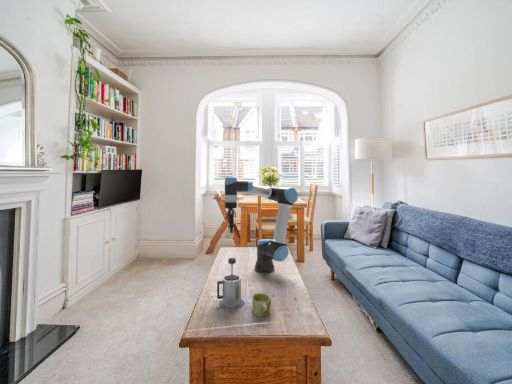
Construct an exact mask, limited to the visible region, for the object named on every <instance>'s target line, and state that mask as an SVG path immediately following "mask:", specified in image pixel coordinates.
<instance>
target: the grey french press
mask: <svg viewBox="0 0 512 384" xmlns="http://www.w3.org/2000/svg"><path fill="white" fill-rule="evenodd" d="M233 279H234V280H236V281H227V280H231V274H227V275H224V276H223V277H222V280H217V281H216V282H217V283H216V285H217V286H216V287H217V288H216V291H217V292H216V293H217V294H216V298H217V299H222V300H223V305H224V306H225V307H229V308H234V307H237V306H239V305H240V304H241V299H242V277H241V276H240V275H238V274H233ZM220 285H222V294H221V295H220Z"/></svg>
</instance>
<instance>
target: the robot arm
mask: <svg viewBox="0 0 512 384" xmlns="http://www.w3.org/2000/svg"><path fill="white" fill-rule="evenodd" d="M238 193H240V194H247V195H251V196H256V197H257V196H258V197H263V198H264V199H266V200H271V201H273V202H277V204H276V205H278V210H277V215H276V220H275V226H274V233H273V238H263V239H258V240H257V242H256V261H255V264H254V270H255V271H256V272H259V273H264V272H266V273H271V271H272V272H274V271H275V265H274V261H276V262H284V261H285V260H286V259H287V258H288V255H289V253H290V252H289V251H290V250H289V248H288V247H287V241H286V237H287V231H288V230H287V229H288V226H289V218H290V213H291V208H293V207H294V204H295V203H296V202H297V201H298V198H299V197H298V192H297V190H296V189H295V188H294V187H292V186H269V185H268V186H262V185H257V184H254V182H253V180H249V179H248V180H247V179H240V180H239V179H238V178H237V177H236V176H226V177H225V178H224V196H223V199H224V208H225V209H228V210H227V232H228V236H229V237H228V239H234V237H235V235H234V234H235V233H234V232H235V229H234V228H235V223H234V222H235V221H234V220H235V219H234V218H235V210H234V209H237V208H238V204H237V203H238V202H237V201H238ZM273 260H274V261H273ZM273 270H274V271H273Z"/></svg>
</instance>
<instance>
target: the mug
mask: <svg viewBox="0 0 512 384" xmlns="http://www.w3.org/2000/svg"><path fill="white" fill-rule="evenodd" d="M271 299H272V298H271V296H269V295H268V294H266V293H262V292H261V293H256V294H255V293H254V295H253V296H252V309H251V310H252V313H253V315H255V316H257V317H258V316H260V317H264V316H267V315H268V314H269V313H270V309H271V301H272V300H271Z"/></svg>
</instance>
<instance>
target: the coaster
mask: <svg viewBox="0 0 512 384" xmlns="http://www.w3.org/2000/svg"><path fill="white" fill-rule="evenodd" d="M218 306H219V307H220V308H221V309H224V310H228V311H229V310H231V311H235V310H238V309H241V308H243V307H244V306H245V301H244V299H242V298H241V304H240V305H239V306H237V307H234V308H229V307H225V306H224V305H223V299H221V300H220V301H219V303H218Z"/></svg>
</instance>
